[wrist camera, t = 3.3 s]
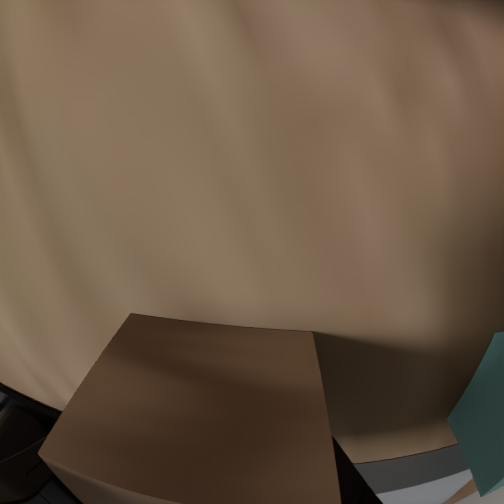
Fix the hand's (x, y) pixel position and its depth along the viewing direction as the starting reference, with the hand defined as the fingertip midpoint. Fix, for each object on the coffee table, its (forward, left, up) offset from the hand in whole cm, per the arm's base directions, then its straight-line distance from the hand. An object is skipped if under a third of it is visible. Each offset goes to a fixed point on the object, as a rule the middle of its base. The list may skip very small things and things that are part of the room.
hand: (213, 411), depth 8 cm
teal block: (+13, 0, -1) cm, 13 cm away
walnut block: (0, 0, -1) cm, 1 cm away
